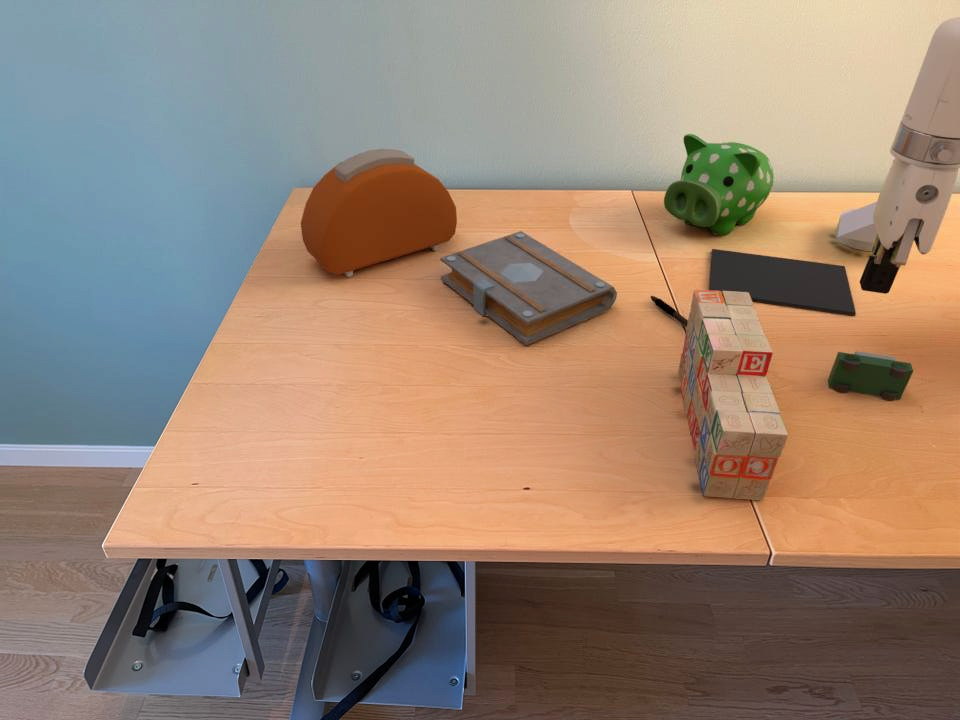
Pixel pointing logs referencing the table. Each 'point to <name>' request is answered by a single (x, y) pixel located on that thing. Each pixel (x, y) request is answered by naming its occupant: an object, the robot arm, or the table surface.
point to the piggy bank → (719, 185)
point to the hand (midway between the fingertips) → (873, 288)
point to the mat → (783, 281)
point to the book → (527, 286)
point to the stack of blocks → (730, 396)
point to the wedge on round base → (857, 228)
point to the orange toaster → (375, 212)
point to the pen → (669, 310)
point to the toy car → (870, 375)
